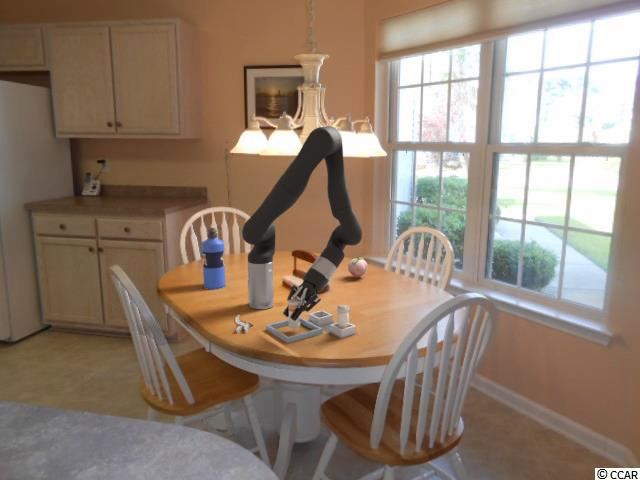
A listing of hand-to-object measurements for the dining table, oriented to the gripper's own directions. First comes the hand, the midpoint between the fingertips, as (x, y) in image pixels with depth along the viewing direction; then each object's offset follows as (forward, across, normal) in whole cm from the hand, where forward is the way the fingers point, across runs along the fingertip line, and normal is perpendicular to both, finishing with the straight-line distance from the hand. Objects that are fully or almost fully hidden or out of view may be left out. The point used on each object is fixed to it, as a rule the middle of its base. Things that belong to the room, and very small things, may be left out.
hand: (289, 317), depth 152 cm
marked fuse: (+1, 0, +4) cm, 4 cm away
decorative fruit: (-38, -37, +47) cm, 71 cm away
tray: (+3, 0, +6) cm, 7 cm away
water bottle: (+2, -63, +6) cm, 64 cm away
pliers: (+9, -17, 0) cm, 19 cm away
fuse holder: (-5, +4, +14) cm, 16 cm away
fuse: (-6, +10, +14) cm, 18 cm away
